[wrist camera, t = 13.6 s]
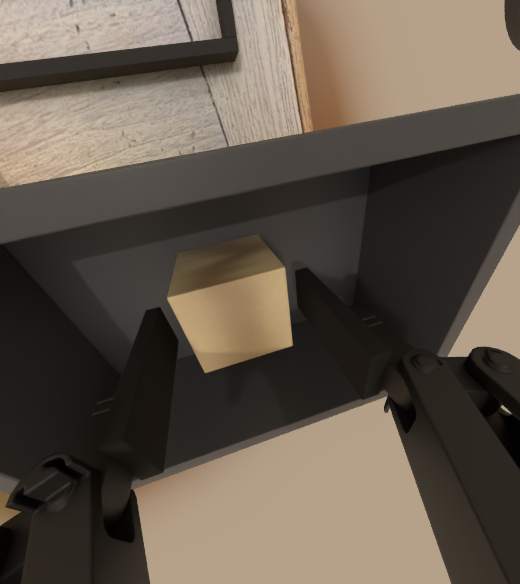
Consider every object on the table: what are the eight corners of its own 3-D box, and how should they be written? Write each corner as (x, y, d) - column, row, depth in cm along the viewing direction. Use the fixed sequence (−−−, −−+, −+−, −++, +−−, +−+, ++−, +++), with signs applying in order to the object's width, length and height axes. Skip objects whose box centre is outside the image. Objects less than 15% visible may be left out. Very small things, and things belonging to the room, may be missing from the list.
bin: (378, 125, 13) (601, 78, 6) (354, 305, 22) (435, 378, 14) (-39, 203, 10) (-609, 299, 3) (119, 376, 19) (67, 513, 11)
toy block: (257, 233, 14) (285, 267, 10) (268, 297, 17) (293, 346, 13) (177, 253, 13) (166, 298, 9) (203, 316, 16) (204, 373, 12)
